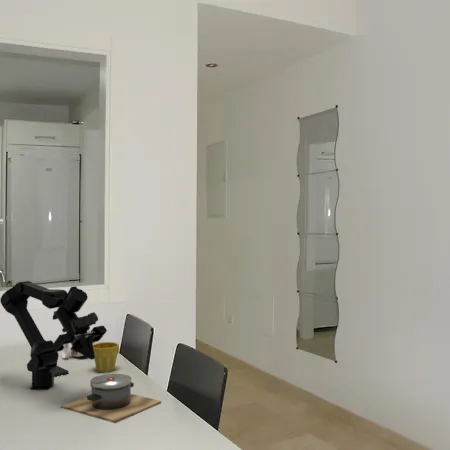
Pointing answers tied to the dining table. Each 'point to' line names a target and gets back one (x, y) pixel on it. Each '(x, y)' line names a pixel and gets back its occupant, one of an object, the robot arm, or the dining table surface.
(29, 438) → the dining table surface
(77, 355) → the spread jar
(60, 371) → the smart home device
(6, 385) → the dining table surface
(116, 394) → the cooker
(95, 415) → the board
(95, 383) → the lid
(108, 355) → the plant pot
